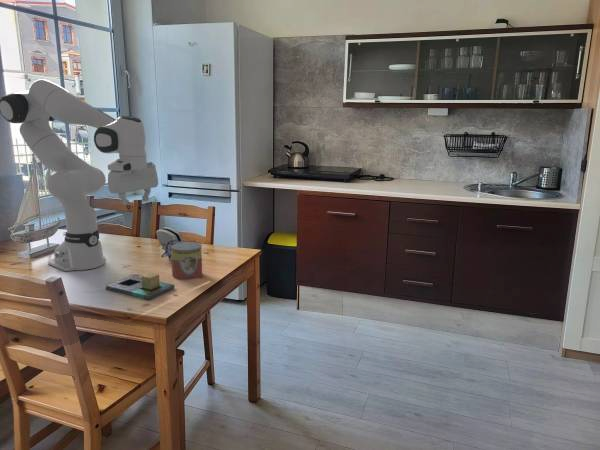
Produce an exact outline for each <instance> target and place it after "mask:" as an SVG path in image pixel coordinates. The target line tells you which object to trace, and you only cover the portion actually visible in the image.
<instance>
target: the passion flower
mask: <svg viewBox="0 0 600 450" xmlns="http://www.w3.org/2000/svg"><path fill="white" fill-rule="evenodd" d="M180 242H185V240H184V239H183V240H181V241H179V242H178V241H176V239H175V238H174V237H173V238H172V239H171V241H169V242H167V243H166V242H164V245H163V244H161V246H162V247H161V249H162V250H164V252H163V253H162V255H160V256H161V258H166V257H168V261H169V263H172V257H171V245H173V244H176V243H180Z"/></svg>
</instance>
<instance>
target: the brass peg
mask: <svg viewBox="0 0 600 450" xmlns="http://www.w3.org/2000/svg"><path fill="white" fill-rule="evenodd" d="M141 278H142V290H146V291H150V292H152V291H154V290H156V289H159V288H160V283H159V282H160V274H158V273H154V272H148V273H146V274H144V275H141Z"/></svg>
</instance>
